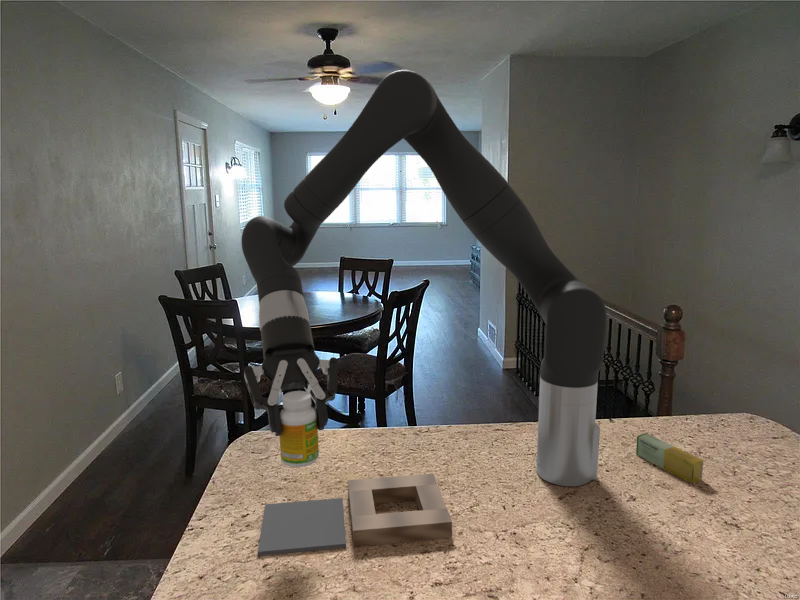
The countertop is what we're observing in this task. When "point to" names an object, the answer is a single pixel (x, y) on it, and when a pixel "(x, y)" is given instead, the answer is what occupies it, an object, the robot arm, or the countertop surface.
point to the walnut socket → (401, 525)
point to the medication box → (670, 458)
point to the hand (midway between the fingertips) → (300, 430)
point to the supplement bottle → (298, 430)
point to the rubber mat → (302, 526)
